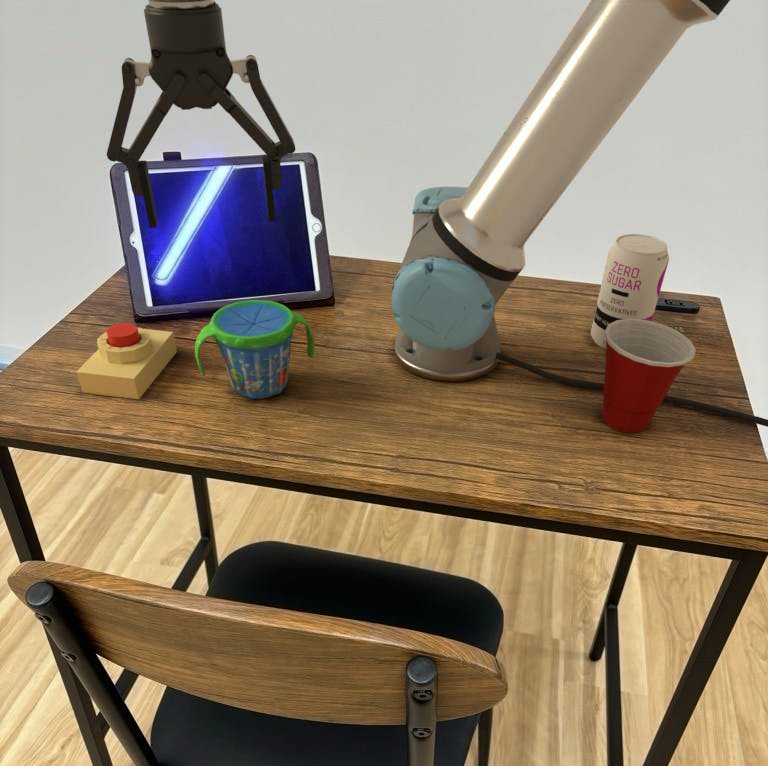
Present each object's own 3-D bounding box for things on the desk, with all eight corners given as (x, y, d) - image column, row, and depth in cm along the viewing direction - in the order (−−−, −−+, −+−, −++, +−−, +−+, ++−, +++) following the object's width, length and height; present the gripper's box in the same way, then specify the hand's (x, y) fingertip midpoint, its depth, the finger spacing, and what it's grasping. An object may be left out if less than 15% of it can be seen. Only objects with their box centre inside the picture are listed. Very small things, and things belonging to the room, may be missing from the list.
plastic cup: (673, 450, 91) (703, 365, 83) (584, 438, 93) (605, 353, 85) (666, 404, 99) (692, 322, 91) (584, 393, 101) (603, 312, 93)
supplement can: (642, 331, 115) (668, 235, 105) (646, 357, 109) (675, 257, 99) (589, 325, 116) (610, 230, 106) (590, 351, 110) (613, 252, 100)
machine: (125, 346, 108) (117, 314, 104) (177, 352, 107) (171, 320, 103) (82, 392, 98) (72, 359, 95) (138, 399, 97) (131, 366, 94)
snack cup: (203, 414, 95) (192, 343, 88) (198, 373, 102) (187, 304, 96) (323, 400, 98) (320, 330, 91) (309, 361, 106) (306, 294, 99)
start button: (117, 333, 101) (114, 321, 100) (144, 336, 101) (142, 324, 99) (104, 347, 98) (101, 335, 97) (132, 350, 98) (129, 338, 96)
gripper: (304, -5, 77) (315, 204, 91) (55, -2, 74) (106, 215, 87) (312, 5, 71) (322, 226, 85) (42, 9, 68) (99, 238, 82)
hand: (213, 220), depth 86 cm, fingers open, 13 cm apart
